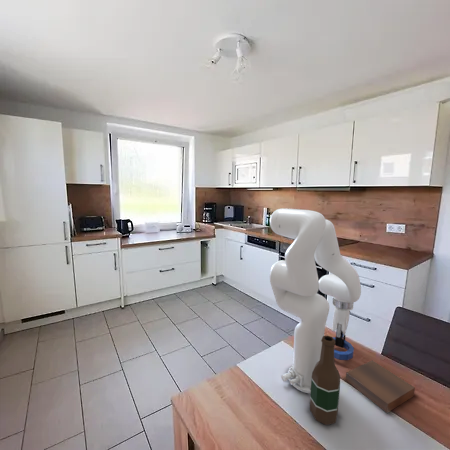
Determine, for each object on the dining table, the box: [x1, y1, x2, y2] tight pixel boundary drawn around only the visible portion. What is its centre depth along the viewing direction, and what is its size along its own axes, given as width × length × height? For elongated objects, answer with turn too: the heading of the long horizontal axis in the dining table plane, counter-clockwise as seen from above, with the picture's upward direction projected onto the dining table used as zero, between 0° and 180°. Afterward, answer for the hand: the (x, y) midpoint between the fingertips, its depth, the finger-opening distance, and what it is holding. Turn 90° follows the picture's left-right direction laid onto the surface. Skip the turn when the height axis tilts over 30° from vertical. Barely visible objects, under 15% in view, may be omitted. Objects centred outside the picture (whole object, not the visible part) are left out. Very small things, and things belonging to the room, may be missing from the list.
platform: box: [345, 359, 416, 414], centre depth 81 cm, size 14×14×3 cm
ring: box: [332, 336, 355, 361], centre depth 96 cm, size 11×11×2 cm
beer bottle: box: [309, 335, 341, 426], centre depth 70 cm, size 8×8×24 cm
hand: (340, 344), depth 100 cm, fingers closed on ring, 2 cm apart
